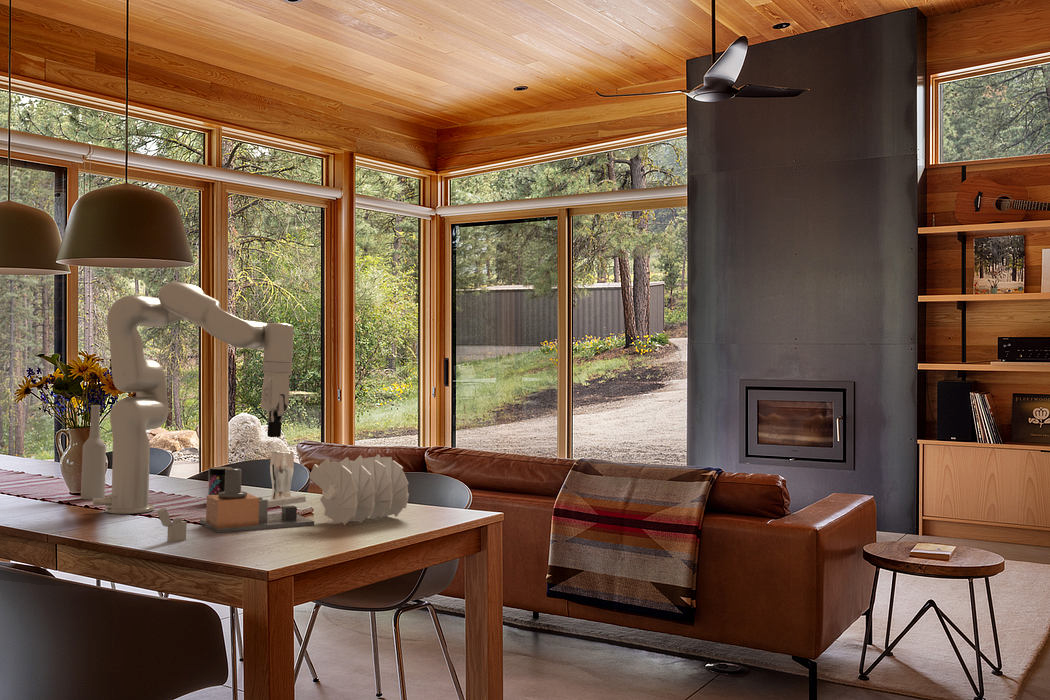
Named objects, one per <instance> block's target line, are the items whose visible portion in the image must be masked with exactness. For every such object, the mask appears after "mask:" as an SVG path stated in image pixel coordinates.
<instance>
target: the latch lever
mask: <svg viewBox="0 0 1050 700" xmlns="http://www.w3.org/2000/svg"><path fill="white" fill-rule="evenodd" d="M306 498H307V497H306V496H305V495H296V496H291V497H287V498H280V499H273V500H271V499H267V500H268V508H272V507H279V506H287V505H292V504H300V503H306Z"/></svg>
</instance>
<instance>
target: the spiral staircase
mask: <svg viewBox="0 0 1050 700" xmlns="http://www.w3.org/2000/svg"><path fill="white" fill-rule="evenodd" d="M403 469H404V467H403V466H402V465H401V464H399V463H398V462H396V460H393V456H381V455H380V453H377V454H376V455H375V456H371V457H370V456H369V457H364V458H363V456H362V455H359V456H358V457H357V458H356V459H354V460H350V458H349V457H348V456H347V457H345V458H344V459H342V460H341V461H330V458H328V457H327V458H325V460H323V461H322V462H321V463H320V464H319V465H318V464H313V466H312V469H311V472H310V474H309V476H308V477H309V479H310V480H311V481H312V482H314V484H316V485H317V486H318V488H320V489H321V490H322V496H321V498H320V499H319V500H320V502H321V504H322V505H323V507H324V509H325V510H324V514H323V515H324V516H326V517H327V518H329V519H331V520H332V525H336V524H341V523H342V524H343V525H344V526H346V525H347V524H348V523H349V522H355V521H358V522H359V524H363V522H364V521H365V520H366V519H367V518H369V519H370V520H372V519H375V518H378V517H379V518H380V519H383V518H384V517H388V516H392V515H393V516H395V517H398V516H399V515H400V514H401V512H402V511H403V510H404V509H406V508H407V505H408V501H409V498H410V497H409V496H410V493H409V485H410V483H409V481H408V479H407V476H406V474H405V472H404V470H403Z"/></svg>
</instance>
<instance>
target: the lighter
mask: <svg viewBox="0 0 1050 700" xmlns="http://www.w3.org/2000/svg"><path fill="white" fill-rule="evenodd" d="M156 512H157V515H158V517H159V520H160V521H161V525H162V526H163V527H166V528H167V542H168V543H175V542H182V541H187V524H188V523H187V522H188V521H185V520H183V518H182V517H173V518H172V520H171V517H170V515H169V513H168V510H167V508H164V507H161V508H159V509H158V510H157V511H156Z"/></svg>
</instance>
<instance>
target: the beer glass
mask: <svg viewBox="0 0 1050 700" xmlns="http://www.w3.org/2000/svg"><path fill="white" fill-rule="evenodd" d="M294 458H295V457H294V451H290V450H289V451H288V450H277V451H276V450H273V451H270V461H269V462H270V463H269V469H270V470H269V471H270V472H269V473H270V479H271V486H272V491H271V498H270V500H273V499H280V498H287V497H292V495H291V486H292V480H293V474H294V469H295V468H294V467H295V466H294V465H295V463H294V462H295V459H294Z"/></svg>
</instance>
